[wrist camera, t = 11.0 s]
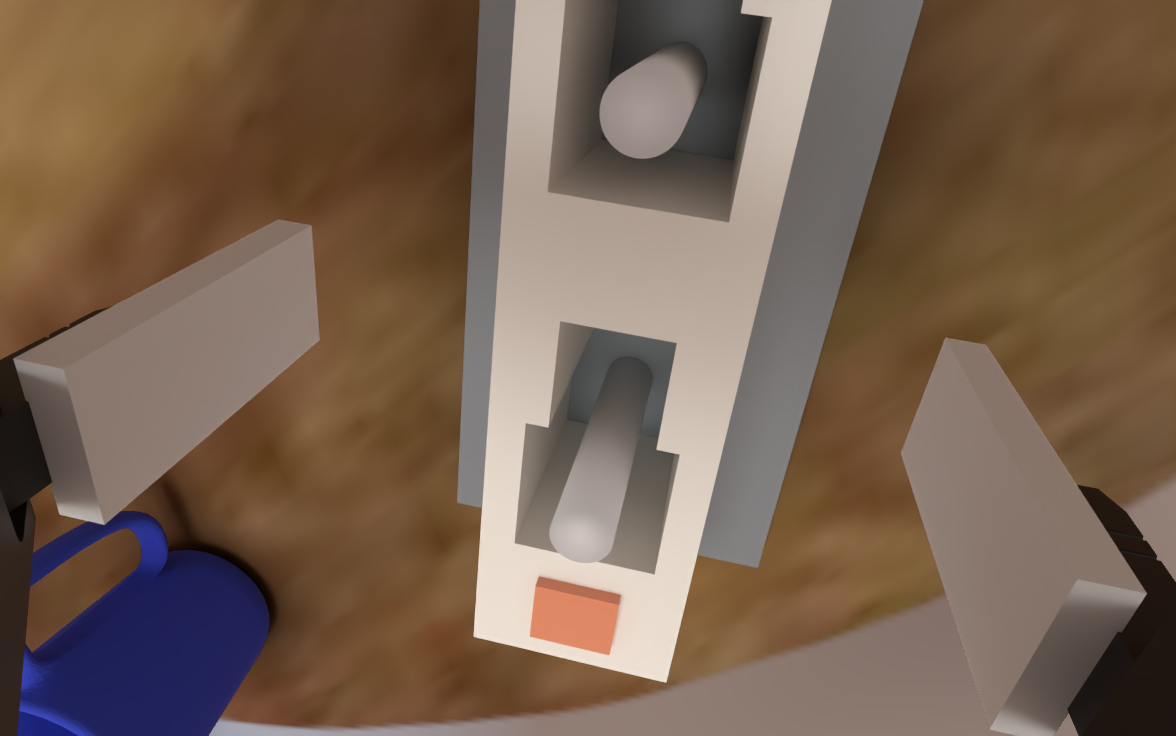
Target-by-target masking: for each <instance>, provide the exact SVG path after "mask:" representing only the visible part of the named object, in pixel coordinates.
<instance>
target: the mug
mask: <svg viewBox="0 0 1176 736" xmlns="http://www.w3.org/2000/svg"><path fill="white" fill-rule="evenodd" d="M124 528H129V529H130V530H132V531H133V532H134V533H135V534H136V536H137V537H138V539H139V542H140V546H141V561H140V564H139V566H138V567H137V569H136V570H135V571H134V572H132V573H131V574H130V575H129V576H127V577H126V578H125V579H124V580H122V581H121V582H120V583H119V584H117V585H116V586H115V587H114V588H112V589H111V590H110V591H109V592H107V593H106V594H105V595H104V596H102V597H101V598H100V599H99V600H97V601H96V602H95V603H94V604H92V605H91V606H90V607H89V608H87V609H86V610H85V611H84V612H82V613H81V614H80V615H79V616H77V617H76V618H75V619H74V620H72V621H71V622H70V623H69V624H67V625H66V626H65V627H64V628H62V629H61V630H60V631H59V632H57V633H56V634H55V635H54V636H52V637H51V638H50V639H49V640H47V641H46V642H45V643H44V644H42V645H41V646H40V647H39V648H37V649H36V650H35V651H34V652H31V651H30V649H29V648H28V647H27V645H26V644H25V650H24V662H23V674H22V686H21V697H20V709H19V721H18V733H17V736H209V734H210V733H211V731H212V729H213V728H214V726H215V724H216V723H217V721H218V720H219V718H220V717H221V715H222V713H223V712H224V710H225V709H226V707H227V705H228V704H229V702H230V701H231V699H232V697H233V696H234V694H235V693H236V691H237V689H238V688H239V686H240V685H241V683H242V681H243V680H244V678H245V677H246V675H247V673H248V672H249V670H250V668H251V667H252V665H253V664H254V662H255V660H256V659H257V657H258V655H259V654H260V652H261V650H262V648H263V646H264V643H265V641H266V638H267V634H268V630H269V612H268V607H267V604H266V601H265V599H264V597H263V595H262V593H261V592H260V590H259V589H258V587H257V586H256V584H255V583H254V582H253V581H252V580H251V579H250V578H249V577H248V575H246V574H245V573H244V572H243V571H242V570H240V569H239V568H238V567H237V566H235V565H233V564H232V563H230V562H229V561H227V560H225V559H223V558H221V557H218V556H216V555H213V554H210V553H207V552H202V551H196V550H176V551H171V552H168V543H167V539H166V535H165V532H164V530H163V528H162V526H161V525H160V523H159V522H158V521H157V520H156V519H155V518H153V517H152V516H150V515H148V514H146V513H142V512H137V511H120V512H119V513H118V514H117V515H115V516H114V517H113V518H112V519H111V520H110V521H108V522H107V523H106V524H105V525H103V524H98V523H94V522H90V521H88V522H86V523H84V524H82V525H80V526H78V527H76V528H74V529H72V530H71V531H69V532H67V533H65V534H63V535H62V536H60V537H58V538H56V539H55V540H53V541H51V542H50V543H48V544H47V545H45V546H43V547H42V548H40V549H39V550H37V551H35V552H34V553H33V556H32V568H31V580H30V587H31V586H32V585H33V584H35V583H36V582H37V581H39V580H40V579H41V578H43V577H44V576H45V575H47V574H48V573H50V572H51V571H52V570H54V569H55V568H56V567H58V566H59V565H61V564H62V563H63V562H65V561H66V560H68V559H69V558H71V557H72V556H74V555H75V554H77V553H78V552H79V551H81V550H83V549H84V548H86V547H88V546H89V545H91V544H93V543H94V542H96V541H98V540H99V539H101V538H103V537H105V536H107V535H109V534H111V533H113V532H115V531H118V530H120V529H124Z"/></svg>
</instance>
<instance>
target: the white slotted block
mask: <svg viewBox="0 0 1176 736" xmlns="http://www.w3.org/2000/svg"><path fill="white" fill-rule="evenodd" d="M618 1H619V0H516V6H515V21H514V36H513V51H512V66H511V81H510V97H509V112H508V127H507V142H506V157H505V172H504V187H503V202H502V217H501V232H500V247H499V262H498V277H497V292H496V308H495V323H494V338H493V353H492V368H491V383H490V398H489V413H488V428H487V443H486V458H485V473H484V488H483V503H482V518H481V534H480V549H479V564H478V579H477V594H476V609H475V624H474V637H477V638H482V639H486V640H490V641H494V642H498V643H503V644H507V645H511V646H515V647H519V648H523V649H528V650H532V651H536V652H540V653H544V654H549V655H553V656H557V657H561V658H565V659H569V660H574V661H578V662H582V663H586V664H590V665H595V666H599V667H603V668H607V669H611V670H615V671H620V672H624V673H628V674H632V675H636V676H641V677H645V678H649V679H653V680H657V681H661V682H666V681H667V677H668V673H669V669H670V665H671V661H672V657H673V653H674V648H675V644H676V640H677V636H678V632H679V628H680V624H681V620H682V616H683V611H684V607H685V603H686V599H687V595H688V591H689V587H690V583H691V578H692V574H693V570H694V566H695V562H696V558H697V554H698V550H699V545H700V541H701V537H702V533H703V529H704V525H705V521H706V517H707V512H708V508H709V504H710V500H711V496H712V492H713V488H714V484H715V479H716V475H717V471H718V467H719V463H720V459H721V455H722V451H723V447H724V442H725V438H726V434H727V430H728V426H729V422H730V418H731V414H732V409H733V405H734V401H735V397H736V393H737V389H738V385H739V381H740V376H741V372H742V368H743V364H744V360H745V356H746V352H747V348H748V343H749V339H750V335H751V331H752V327H753V323H754V319H755V315H756V311H757V306H758V302H759V298H760V294H761V290H762V286H763V282H764V278H765V273H766V269H767V265H768V261H769V257H770V253H771V249H772V245H773V240H774V236H775V232H776V228H777V224H778V220H779V216H780V212H781V207H782V203H783V199H784V195H785V191H786V187H787V183H788V179H789V175H790V170H791V166H792V162H793V158H794V154H795V150H796V146H797V142H798V137H799V133H800V129H801V125H802V121H803V117H804V113H805V109H806V104H807V100H808V96H809V92H810V88H811V84H812V80H813V76H814V71H815V67H816V63H817V59H818V55H819V51H820V47H821V43H822V38H823V34H824V30H825V26H826V22H827V18H828V14H829V10H830V6H831V1H832V0H743V4H742V9H741V13H743V14H750V15H758V16H763V19H762V23H761V28H760V33H759V38H758V43H757V48H756V53H755V57H754V62H753V67H752V72H751V77H750V82H749V86H748V91H747V96H746V101H745V106H744V111H743V116H742V120H741V125H740V130H739V135H738V140H737V145H736V150H735V154H734V159H733V160H730V159H723V158H717V157H711V156H704V155H698V154H692V153H685V152H679V151H673V150H668V151H666V152H664V153H663V154H661V155H659V156H656V157H653V158H647V159H638V158H633V157H629V156H627V155H624V154H622V153H621V152H619V151H618V150H616V149H615V148H614V147H613V146H612V145H611V144H610V142H609V141H608V140H603V139H601V138H602V127H601V123H600V115H599V113H600V104H601V100H602V97H603V94H604V92H605V90H606V89H607V87H608V82H609V73H610V65H611V57H612V49H613V41H614V33H615V25H616V17H617V9H618ZM594 328H599V329H604V330H610V331H615V332H620V333H626V334H631V335H636V336H642V337H647V338H652V339H658V340H663V341H668V342H674V343H677V345H676V350H675V356H674V361H673V366H672V371H671V376H670V381H669V387H668V392H667V397H666V402H665V407H664V413H663V418H662V423H661V428H660V433H659V438H655V437H650V436H645V435H639V439H638V443H637V447H636V451H635V455H634V459H633V464H632V468H631V472H630V476H629V480H628V484H627V489H626V493H625V497H624V501H623V505H622V509H621V513H620V518H619V522H618V526H617V530H616V534H615V538H614V542H613V546H612V549H611V551H610V553H609V554H608V555H607V556H606V557H605V558H603V559H601V560H599V561H597V562H593V563H580V562H575V561H572V560H570V559H568V558H566V557H564V556H562V555H561V554H560V553H559V552H558V551H557V550H556V549H555V548H554V546H553V545H552V543H551V540H550V536H549V530H550V526H551V523H552V520H553V518H554V515H555V512H556V510H557V507H558V504H559V501H560V499H561V496H562V493H563V491H564V488H565V485H566V482H567V480H568V477H569V474H570V472H571V469H572V466H573V463H574V461H575V458H576V455H577V453H578V450H579V447H580V444H581V442H582V439H583V436H584V434H585V431H586V428H587V425H588V424H586V423H581V422H576V421H571V420H567V413H568V405H569V397H570V389H571V381H572V375H573V373H574V371H575V368H576V366H577V364H578V362H579V360H580V358H581V355H582V353H583V351H584V349H585V347H586V344H587V342H588V340H589V338H590V336H591V333H592V331H593V329H594Z"/></svg>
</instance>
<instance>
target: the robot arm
mask: <svg viewBox="0 0 1176 736" xmlns="http://www.w3.org/2000/svg"><path fill="white" fill-rule="evenodd" d="M318 341H319V326H318V312H317V297H316V283H315V269H314V254H313V240H312V226H311V225H306V224H301V223H295V222H289V221H284V220H276V221H274V222H272V223H270V224H268V225H267V226H265V227H263V228H261V229H259V230H257V231H255V232H253V233H251V234H249V235H247V236H246V237H244V238H242V239H240V240H238V241H236V242H234V243H232V244H230V245H228V246H227V247H225V248H223V249H221V250H219V251H217V252H215V253H213V254H211V255H209V256H208V257H206V258H204V259H202V260H200V261H198V262H196V263H194V264H192V265H190V266H188V267H187V268H185V269H183V270H181V271H179V272H177V273H175V274H173V275H171V276H169V277H168V278H166V279H164V280H162V281H160V282H158V283H156V284H154V285H152V286H150V287H149V288H147V289H145V290H143V291H141V292H139V293H137V294H135V295H133V296H131V297H129V298H128V299H126V300H124V301H122V302H120V303H118V304H116V305H114V306H111V307H108V308H104V309H101V310H97V311H94V312H92V313H90V314H88V315H86V316H84V317H82V318H80V319H79V320H77V321H75V322H73V323H71V324H70V326H69V327H63V328H61V329H59V330H57V331H55V332H53V333H52V334H50V337H49V338H47V337H44V338H42V339H40V340H38V341H36V342H34V343H32V344H30V345H28V346H26V347H25V348H23V349H21V350H19V351H17V352H15V353H13V354H11V355H9V356H7V357H5V358H3V359H1V360H0V736H17V733H18V721H19V709H20V697H21V686H22V674H23V662H24V650H25V638H26V627H27V615H28V603H29V591H30V580H31V568H32V556H33V544H34V532H35V521H36V517H35V514H34V511H33V508H32V504H31V501H30V498H31V497H33V496H34V495H35V494H37V493H38V492H39V491H41V490H42V489H44V488H45V487H46V486H48V485H49V484H51V487H52V491H53V494H54V497H55V501H56V504H57V507H58V511H59V514H60V515H64V516H68V517H72V518H77V519H81V520H85V521H90V522H94V523H98V524H103V525H105V524H106V523H107V522H108V521H110V520H111V519H112V518H113V517H114V516H115V515H117V514H118V513H119V512H120V511H121V510H122V509H124V508H125V507H126V506H127V505H128V504H129V503H131V502H132V501H133V500H134V499H135V498H136V497H138V496H139V495H140V494H141V493H142V492H143V491H145V490H146V489H147V488H148V487H149V486H150V485H152V484H153V483H154V482H155V481H156V480H157V479H158V478H160V477H161V476H162V475H163V474H164V473H165V472H167V471H168V470H169V469H170V468H171V467H172V466H174V465H175V464H176V463H177V462H178V461H179V460H181V459H182V458H183V457H184V456H185V455H186V454H188V453H189V452H190V451H191V450H192V449H193V448H195V447H196V446H197V445H198V444H199V443H200V442H202V441H203V440H204V439H205V438H206V437H207V436H209V435H210V434H211V433H212V432H213V431H214V430H216V429H217V428H218V427H219V426H220V425H221V424H223V423H224V422H225V421H226V420H227V419H228V418H229V417H231V416H232V415H233V414H234V413H235V412H236V411H238V410H239V409H240V408H241V407H242V406H243V405H245V404H246V403H247V402H248V401H249V400H250V399H252V398H253V397H254V396H255V395H256V394H257V393H259V392H260V391H261V390H262V389H263V388H264V387H266V386H267V385H268V384H269V383H270V382H271V381H273V380H274V379H275V378H276V377H277V376H278V375H280V374H281V373H282V372H283V371H284V370H285V369H287V368H288V367H289V366H290V365H291V364H292V363H294V362H295V361H296V360H297V359H298V358H299V357H300V356H302V355H303V354H304V353H305V352H306V351H307V350H309V349H310V348H311V347H312V346H313V345H314V344H316V343H317V342H318ZM901 456H902V459H903V462H904V465H905V468H906V471H907V474H908V478H909V481H910V484H911V487H912V490H913V493H914V496H915V499H916V502H917V506H918V509H919V512H920V515H921V518H922V521H923V524H924V527H925V530H926V534H927V537H928V540H929V543H930V546H931V549H932V552H933V555H934V558H935V562H936V565H937V568H938V571H939V574H940V577H941V580H942V583H943V586H944V590H945V593H946V596H947V599H948V602H949V605H950V608H951V611H952V614H953V618H954V621H955V624H956V627H957V630H958V633H959V636H960V639H961V642H962V645H963V649H964V652H965V654H966V658H967V661H968V664H969V667H970V670H971V674H972V676H973V680H974V683H975V686H976V689H977V692H978V695H979V698H980V702H981V704H982V708H983V711H984V714H985V717H986V720H987V723H988V726H989V729H990V730H994V731H999V732H1003V733H1007V734H1012V735H1016V736H1054V735H1055V733H1056V732H1057V730H1058V729H1059V727H1060V726H1061V724H1062V722H1063V721H1064V719H1065V718H1066V716H1067V715H1068V713H1069V714H1070V717H1071V719H1072V721H1073V724H1074V726H1075V728H1076V731H1077V733H1078V735H1079V736H1176V582H1175V581H1174V579H1173V578H1172V576H1171V575H1170V573H1169V572H1168V570H1167V569H1166V568H1165V566H1164V565H1163V563H1162V562H1161V561H1158V560H1157V559H1156V558H1157V555H1156V553H1155V552H1154V551H1153V549H1152V548H1151V546H1150V545H1149V544H1148V542H1147V541H1144V540H1143V535H1142V534H1141V532H1140V531H1139V529H1138V528H1137V527H1136V525H1135V524H1134V522H1133V521H1132V519H1131V518H1130V517H1129V515H1128V514H1127V512H1126V511H1124V510H1123V509H1122V508H1121V507H1119V506H1118V505H1117V504H1116V503H1115V502H1113V501H1112V500H1111V499H1110V498H1108V497H1107V496H1106V495H1105V494H1104V493H1102V492H1101V491H1100V490H1099V489H1096V488H1091V487H1086V486H1080V485H1077V484H1076V483H1075V481H1074V480H1073V478H1072V477H1071V475H1070V474H1069V472H1068V471H1067V469H1066V467H1065V466H1064V464H1063V463H1062V461H1061V460H1060V458H1059V457H1058V455H1057V454H1056V452H1055V450H1054V449H1053V447H1052V446H1051V444H1050V443H1049V441H1048V440H1047V438H1046V436H1045V435H1044V433H1043V432H1042V430H1041V429H1040V427H1039V426H1038V424H1037V423H1036V421H1035V419H1034V418H1033V416H1032V415H1031V413H1030V412H1029V410H1028V409H1027V407H1026V405H1025V404H1024V402H1023V401H1022V399H1021V398H1020V396H1019V395H1018V393H1017V392H1016V390H1015V388H1014V387H1013V385H1012V384H1011V382H1010V381H1009V379H1008V378H1007V376H1006V375H1005V373H1004V371H1003V370H1002V368H1001V367H1000V365H999V364H998V362H997V361H996V359H995V357H994V356H993V354H992V353H991V351H990V350H989V348H988V347H987V345H984V344H979V343H973V342H967V341H962V340H956V339H951V338H945V340H944V343H943V345H942V348H941V350H940V353H939V356H938V358H937V361H936V363H935V366H934V369H933V371H932V374H931V376H930V379H929V381H928V384H927V387H926V389H925V392H924V394H923V397H922V400H921V402H920V405H919V407H918V410H917V412H916V415H915V418H914V420H913V423H912V425H911V428H910V431H909V433H908V436H907V438H906V441H905V443H904V446H903V449H902V451H901Z"/></svg>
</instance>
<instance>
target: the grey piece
mask: <svg viewBox="0 0 1176 736" xmlns="http://www.w3.org/2000/svg"><path fill="white" fill-rule="evenodd" d="M923 1H924V0H832V1H831V6H830V10H829V14H828V18H827V22H826V26H825V30H824V34H823V38H822V43H821V47H820V51H819V55H818V59H817V63H816V67H815V71H814V76H813V80H812V84H811V88H810V92H809V96H808V100H807V104H806V109H805V113H804V117H803V121H802V125H801V129H800V133H799V137H798V142H797V146H796V150H795V154H794V158H793V162H792V166H791V170H790V175H789V179H788V183H787V187H786V191H785V195H784V199H783V203H782V207H781V212H780V216H779V220H778V224H777V228H776V232H775V236H774V240H773V245H772V249H771V253H770V257H769V261H768V265H767V269H766V273H765V278H764V282H763V286H762V290H761V294H760V298H759V302H758V306H757V311H756V315H755V319H754V323H753V327H752V331H751V335H750V339H749V343H748V348H747V352H746V356H745V360H744V364H743V368H742V372H741V376H740V381H739V385H738V389H737V393H736V397H735V401H734V405H733V409H732V414H731V418H730V422H729V426H728V430H727V434H726V438H725V442H724V447H723V451H722V455H721V459H720V463H719V467H718V471H717V475H716V479H715V484H714V488H713V492H712V496H711V500H710V504H709V508H708V512H707V517H706V521H705V525H704V529H703V533H702V537H701V541H700V545H699V550H698V554H697V555H700V556H705V557H709V558H714V559H718V560H723V561H728V562H732V563H737V564H741V565H746V566H751V567H755V568H758V565H759V561H760V558H761V555H762V551H763V548H764V544H765V541H766V538H767V534H768V531H769V527H770V524H771V520H772V517H773V514H774V510H775V507H776V503H777V500H778V497H779V493H780V490H781V486H782V483H783V479H784V476H785V473H786V469H787V466H788V462H789V459H790V456H791V452H792V449H793V445H794V442H795V438H796V435H797V432H798V428H799V425H800V421H801V418H802V415H803V411H804V408H805V404H806V401H807V397H808V394H809V391H810V387H811V384H812V380H813V377H814V374H815V370H816V367H817V363H818V360H819V356H820V353H821V350H822V346H823V343H824V339H825V336H826V333H827V329H828V326H829V322H830V319H831V316H832V312H833V309H834V305H835V302H836V298H837V295H838V292H839V288H840V285H841V281H842V278H843V275H844V271H845V268H846V264H847V261H848V257H849V254H850V251H851V247H852V244H853V240H854V237H855V234H856V230H857V227H858V223H859V220H860V216H861V213H862V210H863V206H864V203H865V199H866V196H867V193H868V189H869V186H870V182H871V179H872V175H873V172H874V169H875V165H876V162H877V158H878V155H879V152H880V148H881V145H882V141H883V138H884V134H885V131H886V128H887V124H888V121H889V117H890V114H891V111H892V107H893V104H894V100H895V97H896V93H897V90H898V87H899V83H900V80H901V76H902V73H903V70H904V66H905V63H906V59H907V56H908V53H909V49H910V46H911V42H912V39H913V35H914V32H915V29H916V25H917V22H918V18H919V15H920V12H921V8H922V5H923ZM742 4H743V0H619V1H618V9H617V17H616V25H615V33H614V41H613V49H612V57H611V65H610V73H609V82H608V87H607V89H606V90H605V92H604V94H603V97H602V100H601V104H600V113H599V115H600V123H601V127H602V138H601V139H603V140H608V141H609V142H610V144H611V145H612V146H613V147H614V148H615V149H616V150H618V151H619V152H621V153H622V154H624V155H627V156H629V157H633V158H638V159H647V158H653V157H656V156H659V155H661V154H663V153H664V152H666V151H668V150H673V151H679V152H685V153H692V154H698V155H704V156H711V157H717V158H723V159H730V160H733V159H734V154H735V150H736V145H737V140H738V135H739V130H740V125H741V120H742V116H743V111H744V106H745V101H746V96H747V91H748V86H749V82H750V77H751V72H752V67H753V62H754V57H755V53H756V48H757V43H758V38H759V33H760V28H761V23H762V19H763V16H758V15H750V14H743V13H741V9H742ZM515 6H516V0H480V7H479V29H478V52H477V74H476V96H475V118H474V140H473V162H472V185H471V207H470V229H469V251H468V273H467V295H466V317H465V340H464V362H463V384H462V406H461V428H460V450H459V472H458V495H457V503H461V504H466V505H470V506H475V507H480V508H482V503H483V488H484V473H485V458H486V443H487V428H488V413H489V398H490V383H491V368H492V353H493V338H494V323H495V308H496V292H497V277H498V262H499V247H500V232H501V217H502V202H503V187H504V172H505V157H506V142H507V127H508V112H509V97H510V81H511V66H512V51H513V36H514V21H515ZM676 345H677V343H674V342H668V341H663V340H658V339H652V338H647V337H642V336H636V335H631V334H626V333H620V332H615V331H610V330H604V329H599V328H594V329H593V331H592V333H591V336H590V338H589V340H588V342H587V344H586V347H585V349H584V351H583V353H582V355H581V358H580V360H579V362H578V364H577V366H576V368H575V371H574V373H573V375H572V381H571V389H570V397H569V405H568V413H567V420H571V421H576V422H581V423H586V424H588V425H587V428H586V431H585V434H584V436H583V439H582V442H581V444H580V447H579V450H578V453H577V455H576V458H575V461H574V463H573V466H572V469H571V472H570V474H569V477H568V480H567V482H566V485H565V488H564V491H563V493H562V496H561V499H560V501H559V504H558V507H557V510H556V512H555V515H554V518H553V520H552V523H551V526H550V530H549V536H550V540H551V543H552V545H553V546H554V548H555V549H556V550H557V551H558V552H559V553H560V554H561V555H562V556H564V557H566V558H568V559H570V560H572V561H575V562H580V563H593V562H597V561H599V560H601V559H603V558H605V557H606V556H607V555H608V554H609V553H610V551H611V549H612V546H613V542H614V538H615V534H616V530H617V526H618V522H619V518H620V513H621V509H622V505H623V501H624V497H625V493H626V489H627V484H628V480H629V476H630V472H631V468H632V464H633V459H634V455H635V451H636V447H637V443H638V439H639V435H645V436H650V437H655V438H659V433H660V428H661V423H662V418H663V413H664V407H665V402H666V397H667V392H668V387H669V381H670V376H671V371H672V366H673V361H674V356H675V350H676Z"/></svg>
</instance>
